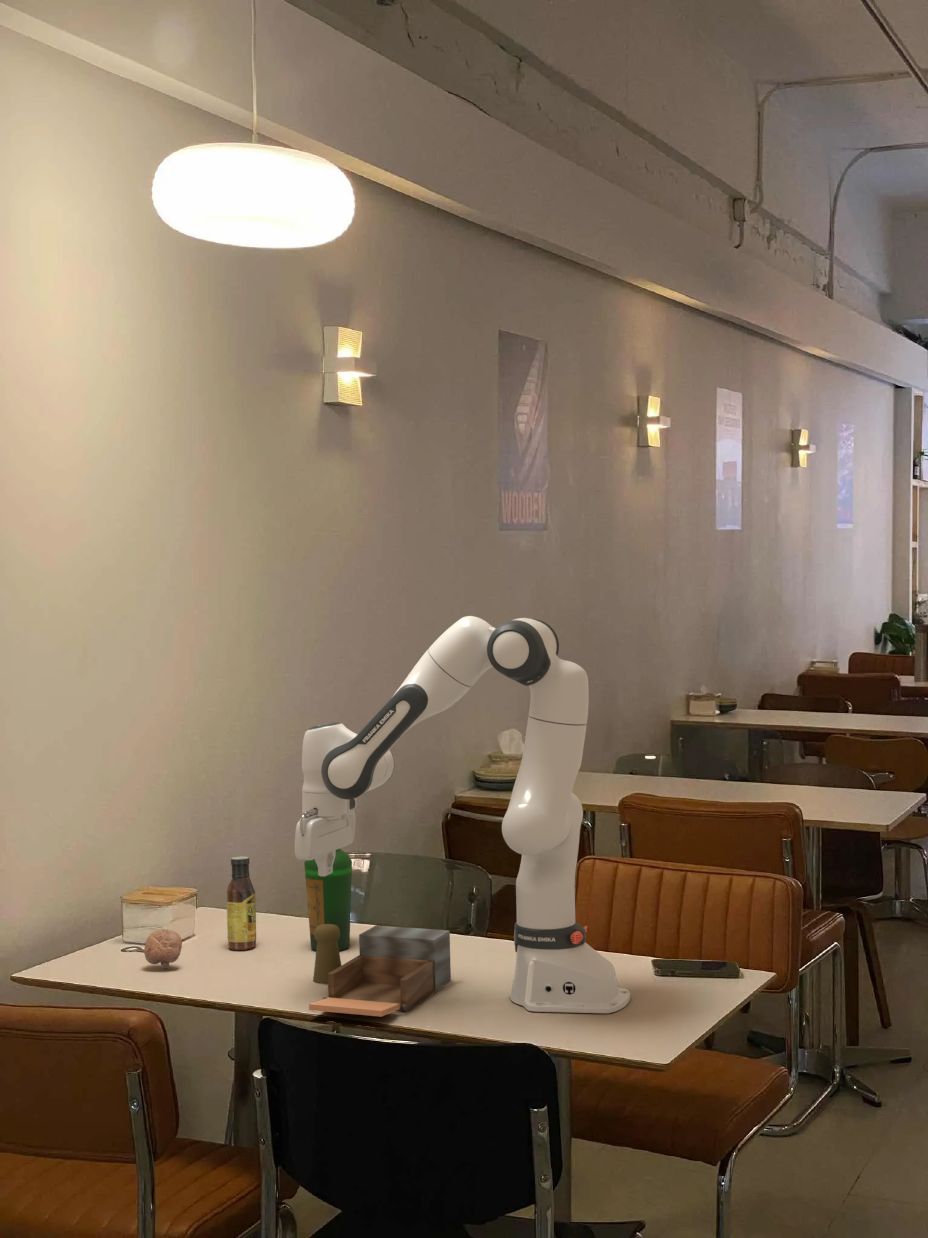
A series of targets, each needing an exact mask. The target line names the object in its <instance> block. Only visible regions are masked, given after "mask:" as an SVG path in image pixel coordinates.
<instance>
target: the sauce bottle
mask: <svg viewBox="0 0 928 1238" xmlns="http://www.w3.org/2000/svg"><path fill="white" fill-rule="evenodd" d="M230 865H231V880H230V881H229V883H228V886H227V888H226V895H227V896H226V916H227V917H226V919H227V921H226V922H227V941H228V944H227V945H228V948H229V949H230V950H232V951H246V950H250V949H254V948H255V947H256V945H257V908H256V905H257V904H256V891H255V888H254V886H253V883H252V881H251V877H250V857H249V856H246V855H245V856H244V855H242V856H241V855H240V856H233V857H231V858H230Z"/></svg>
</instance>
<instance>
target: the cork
mask: <svg viewBox="0 0 928 1238" xmlns="http://www.w3.org/2000/svg"><path fill="white" fill-rule="evenodd" d="M314 937H315V940H316V941H317V948H316V950H315V958H314V969H313V981H312V982H314V983H316V984H321V985H328V973H330V972H331V971H333V970H335V969H336V968H338V967H340V966H342V961H341V955H340V951H339V947H338V939H339V938H340V929H339V928H338V926H336V925H333V924H323V925H319V926H317V927H316V929H315V931H314Z"/></svg>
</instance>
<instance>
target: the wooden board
mask: <svg viewBox="0 0 928 1238" xmlns="http://www.w3.org/2000/svg"><path fill="white" fill-rule="evenodd" d="M399 1009H400V1004H397V1003H386V1002H375V1001H364V1000H352V999H341V998H330V997H329V998H326V999H323V998H322V999H320V1000H318V1001H314V1002H311V1003H309V1004H308V1011H316V1012H317V1011H318V1012H329V1013H339V1014H348V1015H349V1014H350V1015H361V1016H371V1017H385V1016H386V1015H390V1014H392V1013H393V1012H395V1011H397V1010H399Z"/></svg>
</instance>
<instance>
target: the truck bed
mask: <svg viewBox="0 0 928 1238" xmlns="http://www.w3.org/2000/svg"><path fill="white" fill-rule="evenodd" d="M450 933H451V932H450V930H447V929H446V930H445V929H434V928H432V929H431V928H421V927H420V928H419V927H418V928H417V927H403V926H390V925H389V926H387V925H374V926H373V927H371V928H369V929H367V930H365V931H364V932H361V933H360V934H359V935H358V942H359V944H358V946H359V947H358V948H359V954H358V955H357V956H355V957H354V958H352V959H351V960H348V961H347V962H345V963H344V964H341V966H340V967H338V968H336V969H335V970H333V971H331V972H330V973H328V984H327V997H326V996H323V998H322V1000H323V999H326V998H329V997H330V998H341V999H352V1000H364V1001H375V1002H386V1003H397V1004H400V1009H399V1010H397V1011H394V1012H396V1013H397V1012H398V1013H406V1014H407V1013H408V1012H410V1011H411V1010H413V1009H414V1008H415V1007H417V1006H418V1005H419V1004H421V1003H422V1002H424V1001H425V1000H426V999H427V998H429V997H431V996H432V995H433V994H435V993H436V992H437V991H439V990H440V989H442V988H444V986H446V985H447V984H448V983H450V982H451V981H452V979H451V978H452V976H451V975H452V974H451V971H452V970H451V940H450V939H451V936H450V935H451V934H450Z"/></svg>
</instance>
